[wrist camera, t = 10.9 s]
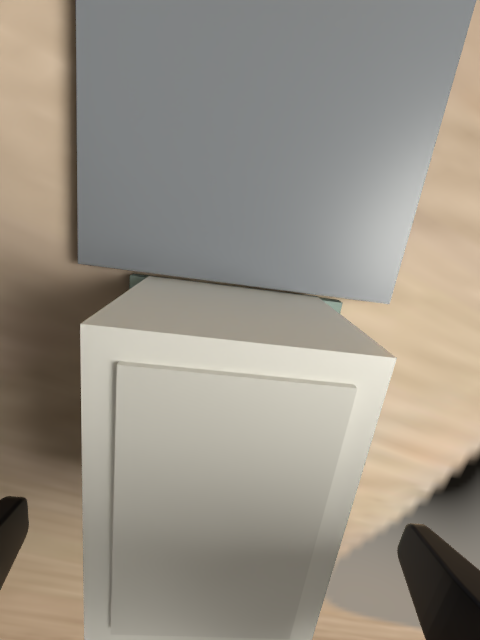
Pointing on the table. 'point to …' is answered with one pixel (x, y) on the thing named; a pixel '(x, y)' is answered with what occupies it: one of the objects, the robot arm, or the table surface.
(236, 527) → the cover
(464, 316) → the table surface
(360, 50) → the base plate
